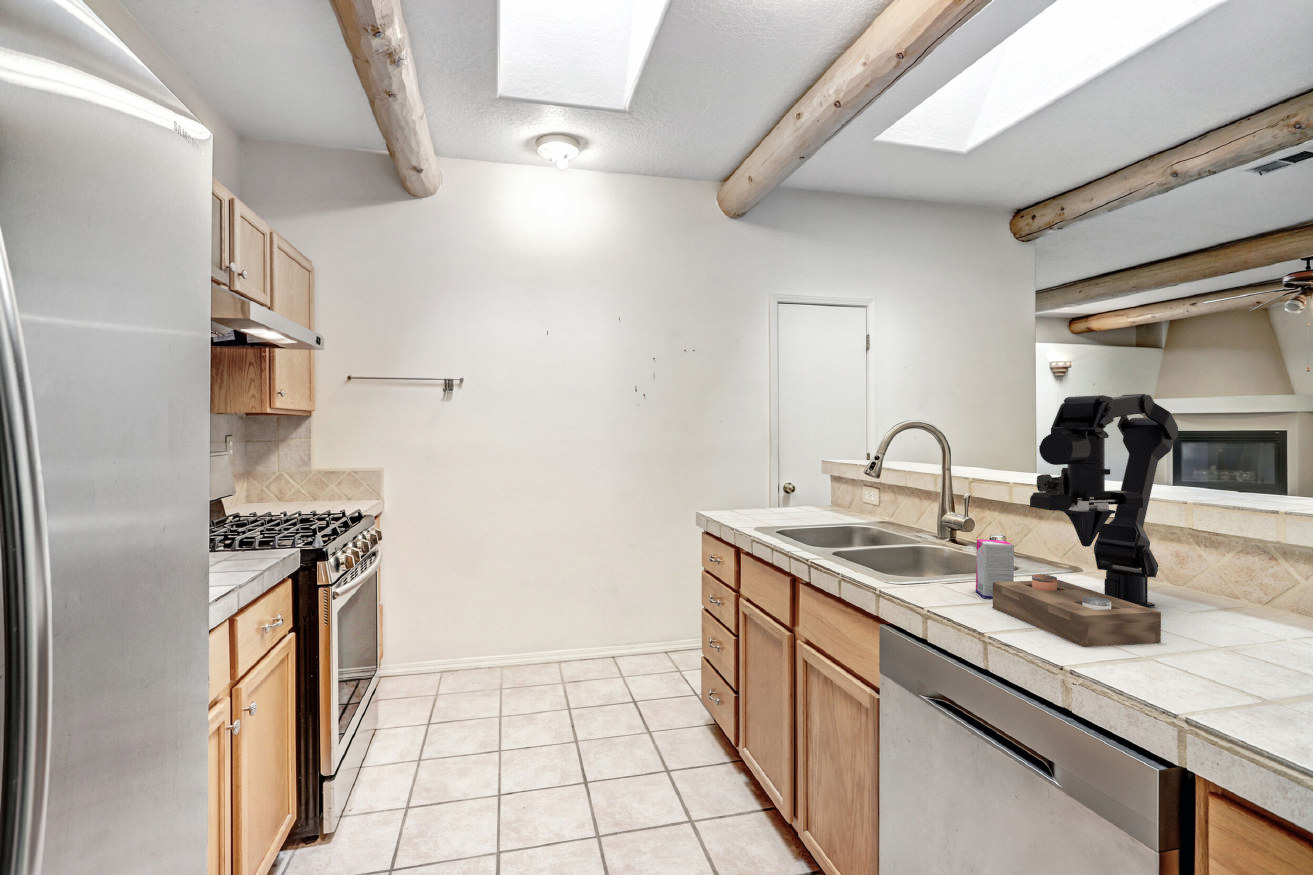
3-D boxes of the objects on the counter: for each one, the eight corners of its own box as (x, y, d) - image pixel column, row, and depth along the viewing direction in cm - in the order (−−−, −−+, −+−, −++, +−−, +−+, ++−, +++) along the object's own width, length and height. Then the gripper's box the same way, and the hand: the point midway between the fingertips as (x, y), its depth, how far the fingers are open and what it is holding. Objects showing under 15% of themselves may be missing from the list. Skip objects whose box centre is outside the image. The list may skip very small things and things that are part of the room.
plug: (1097, 627, 107) (1097, 595, 107) (1117, 635, 103) (1117, 602, 103) (1076, 628, 107) (1076, 596, 107) (1095, 636, 103) (1095, 603, 103)
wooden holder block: (1058, 604, 123) (1058, 579, 123) (1160, 642, 101) (1160, 611, 101) (992, 607, 121) (992, 582, 121) (1082, 646, 99) (1082, 615, 99)
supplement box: (1014, 600, 126) (1014, 544, 126) (983, 598, 127) (983, 543, 127) (1004, 592, 132) (1004, 539, 132) (974, 591, 133) (974, 538, 133)
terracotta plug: (1046, 602, 119) (1046, 573, 119) (1062, 608, 115) (1062, 578, 115) (1027, 603, 119) (1027, 574, 118) (1042, 609, 115) (1042, 579, 115)
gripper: (1096, 460, 124) (1096, 537, 125) (1010, 461, 122) (1010, 540, 123) (1145, 463, 113) (1145, 547, 114) (1051, 464, 111) (1052, 551, 111)
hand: (1085, 546), depth 116 cm, fingers closed
